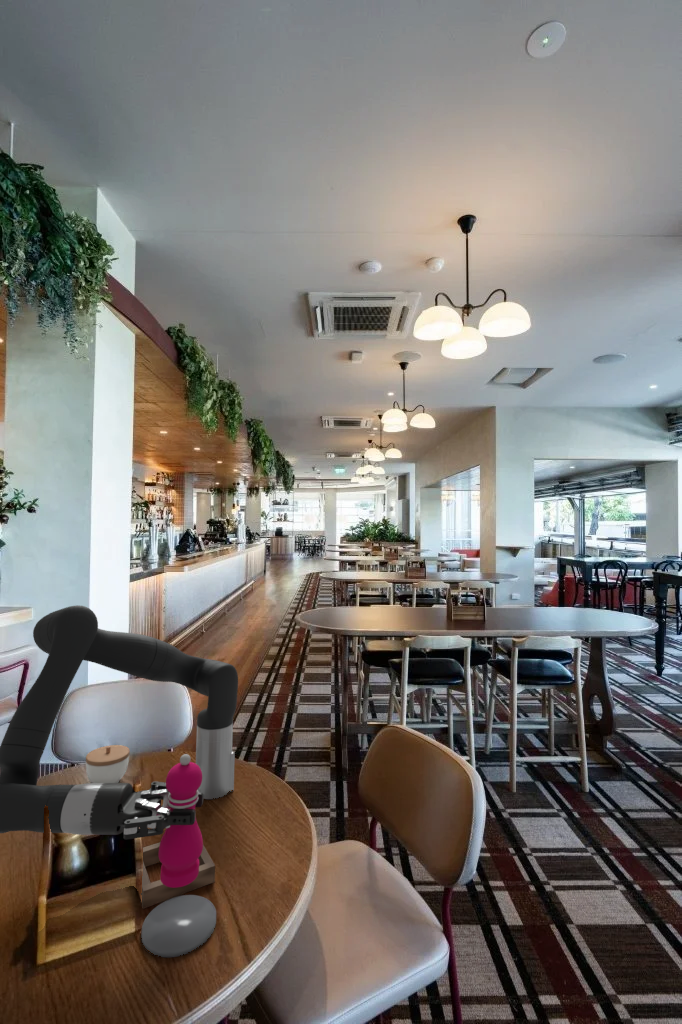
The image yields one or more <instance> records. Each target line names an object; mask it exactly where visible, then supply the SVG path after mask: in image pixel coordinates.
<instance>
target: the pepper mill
mask: <svg viewBox="0 0 682 1024" xmlns="http://www.w3.org/2000/svg"><path fill="white" fill-rule="evenodd" d="M165 783H166V788H167V790H168V791H169V792H170V793H169V795H168V799H169V800H168V805H169V806H170V809H171V810H172V811H173V809H194V810H195V811H196V807H195V805H196V803H197V801H198V794H199V792H198V790H197V789H198V788H199V787H200V785H201V783H202V771H201V769H200V767H199V766H198V765H197V764H196V762H192V761H191V756H190V755H189V754H188V753H184V754H182V755H181V756H180V758H179V762H178V763H176V764H175V765H173V766H172V767H171V768H170V770H169V771H168V772H167V775H166V778H165ZM164 830H165V831H163V834H162V837H161V840H160V846H159V853H158V855H159V860H160V862H159V863H161V865H160V866H161V867H160V876H159V877H160V879H159V880H161V882H162V883H163V885H165V886H167V887H171V888H177V887H183V886H186V885H188V884H190V883H191V882H193V881H194V880H195V879H196V877H197V876H198V873H199V859H198V858H199V856H200V855H201V853H202V850H203V845H204V842H203V841H204V839H203V835H202V831H201V828H200V826H199V823H198V821H197V816H195V822H194V824H193V825H171V826H170V827H169V828H165V829H164Z"/></svg>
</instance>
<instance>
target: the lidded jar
mask: <svg viewBox="0 0 682 1024" xmlns="http://www.w3.org/2000/svg"><path fill="white" fill-rule="evenodd" d="M130 752H131V751H130V748H129V747H128V746H126V745H120V744H114V745H113V744H112V745H110V744H109V745H106V746H101V747H97V748H95V749H93V750H91V751H89V752H88V753H86V756H85V771H86V776H87V779H88V780H89V783H120V780H121V779H122V778H123V777H124V775H125V774H126V772H127V770H128V766H129V761H130V754H131V753H130Z"/></svg>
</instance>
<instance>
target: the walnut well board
mask: <svg viewBox="0 0 682 1024" xmlns="http://www.w3.org/2000/svg"><path fill="white" fill-rule="evenodd" d="M160 842H161V841H160ZM160 842H157V843H153V844H150V845H147V846H144V847H142V848H143V876H142V893H141V895H142V905H141V907H142V909H143V910H144V909H147V908H149V907H151V906H154V905H156V904H161V903H163V902H165V901H167V900H169V899H171V898H174V897H178V896H182V895H184V894H186V893H189V892H191V891H194V890H197V889H200V888H202V887H205V886H207V885H211V884H213V883H215V882H216V880H215V879H216V864H215V863H214V860H213V859H212V858H211V856H210V854H209V852H208V850H207V849H206V847H205V845H204V844H203V850H202V853H201V855H200V856H199V858H198V859H199V873H198V876H197V877H196V879H195V880H194V881H193V882H191V883H190V884H188V885H186V886H183V887H177V888H171V887H167V886H165V885H163V883H162V882H161V879H159V880H154V881H151V880H150V876H149V874H148V871H147V868H146V867H148V866H152V865H155V864H158V863H160V862H159V861H160V860H159V855H158V853H159V846H160ZM157 862H158V863H157Z"/></svg>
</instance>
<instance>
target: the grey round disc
mask: <svg viewBox="0 0 682 1024" xmlns="http://www.w3.org/2000/svg"><path fill="white" fill-rule="evenodd" d="M216 925H217V909H216V907H215V905H214V904H213V902H212V901H211V900H209V898H206V897H203V896H201V895H196V894H185V895H184V894H182V895H179V896H176V897H173V898H171V899H168V900H165V901H163V902H160V903H159V904H158V905H157V906H155V907H154V908H153V909H152V910H151V911H149V913H148V915H147V916H146V917H145V919H144V921H143V922H142V927H141V936H140V937H141V938H142V939H141V943H143V944H142V946H143V945H144V946H145V948H146V949H147V950H149V951H150V952H151V953H153V954H154V956H155V955H158V956H157V957H159V956H161V957H160V958H175V957H181V956H183V954H184V955H186V954H187V955H188V954H189V953H188V952H190V953H192V952H193V951H192V950H194V949H195V950H197V949H198V948H200V947H201V946H202V945H204V944H205V943H206V942H207V941H208V940H209V939H208V938H210V937H212V935H213V933H214V931H215V929H214V928H216ZM211 934H212V935H211ZM207 939H208V940H207ZM203 943H204V944H203ZM200 945H201V946H200ZM144 946H143V947H144ZM199 946H200V947H199ZM197 947H198V948H197ZM145 948H144V949H145ZM196 948H197V949H196ZM146 949H145V950H146ZM147 950H146V951H147ZM195 950H194V951H195ZM191 951H192V952H191ZM150 952H149V953H150ZM151 953H150V954H151ZM153 954H152V955H153ZM180 955H181V956H180Z"/></svg>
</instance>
